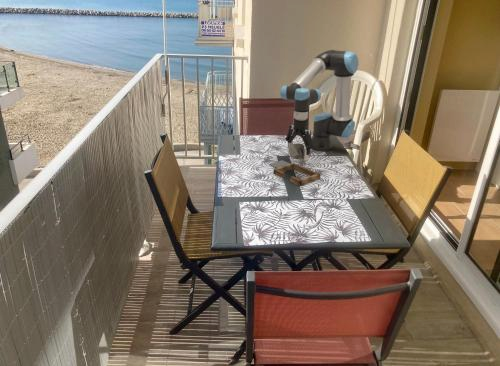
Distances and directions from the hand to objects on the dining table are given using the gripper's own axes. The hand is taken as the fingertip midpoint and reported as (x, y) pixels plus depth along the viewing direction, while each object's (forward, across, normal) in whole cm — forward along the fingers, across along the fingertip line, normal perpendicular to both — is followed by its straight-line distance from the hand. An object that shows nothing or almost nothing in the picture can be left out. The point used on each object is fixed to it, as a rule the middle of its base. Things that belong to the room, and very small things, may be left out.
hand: (298, 156), depth 229 cm
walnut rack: (+12, 0, 0) cm, 12 cm away
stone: (+2, -1, 0) cm, 2 cm away
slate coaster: (+12, -17, +4) cm, 21 cm away
